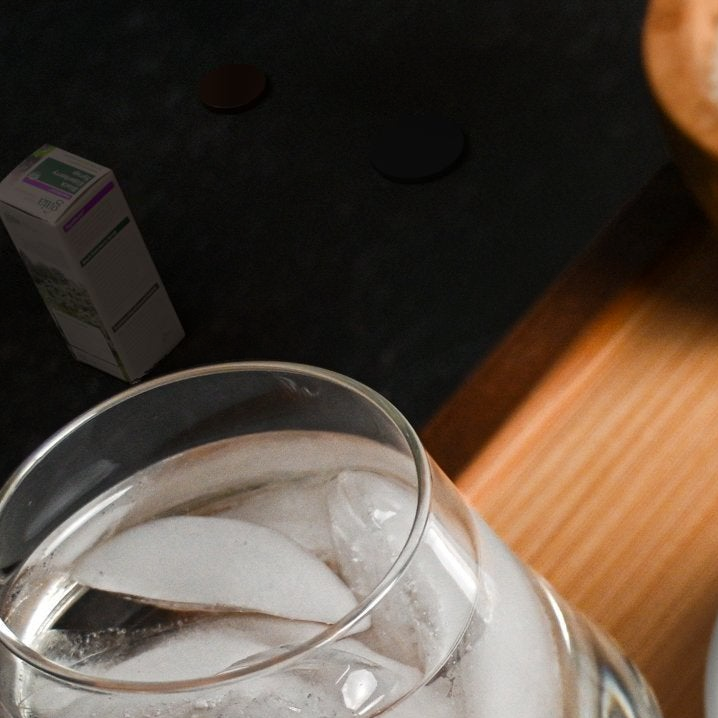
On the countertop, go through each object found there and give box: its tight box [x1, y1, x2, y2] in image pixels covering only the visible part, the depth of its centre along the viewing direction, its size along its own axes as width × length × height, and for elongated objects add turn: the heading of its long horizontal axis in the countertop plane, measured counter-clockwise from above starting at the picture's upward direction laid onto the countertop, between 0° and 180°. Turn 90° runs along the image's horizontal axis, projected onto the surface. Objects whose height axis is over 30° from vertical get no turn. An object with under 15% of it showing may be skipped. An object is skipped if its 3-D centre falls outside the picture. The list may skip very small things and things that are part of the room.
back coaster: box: [197, 62, 269, 115], centre depth 146 cm, size 5×5×1 cm
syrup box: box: [0, 143, 186, 386], centre depth 126 cm, size 6×6×14 cm
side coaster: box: [368, 113, 467, 185], centre depth 141 cm, size 7×7×1 cm
